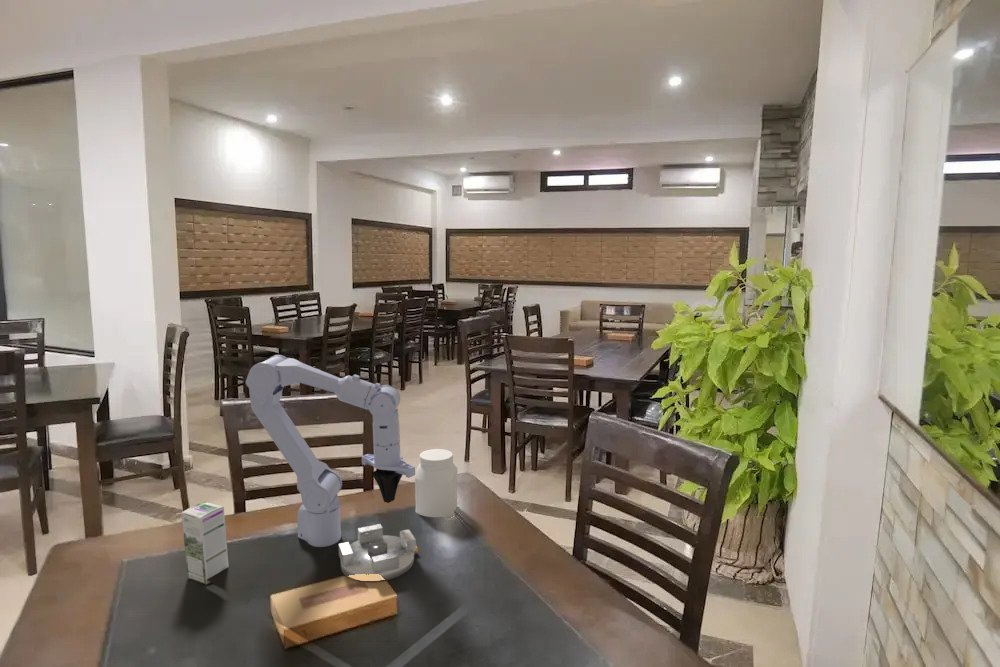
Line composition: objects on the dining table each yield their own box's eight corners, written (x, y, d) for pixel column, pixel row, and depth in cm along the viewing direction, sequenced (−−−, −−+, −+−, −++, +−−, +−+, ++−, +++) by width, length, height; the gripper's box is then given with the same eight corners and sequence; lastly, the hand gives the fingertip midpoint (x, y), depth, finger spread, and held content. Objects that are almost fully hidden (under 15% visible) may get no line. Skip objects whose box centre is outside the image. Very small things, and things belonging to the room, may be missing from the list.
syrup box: (230, 571, 122) (225, 505, 120) (205, 586, 117) (200, 517, 114) (210, 564, 124) (206, 499, 122) (185, 579, 119) (180, 511, 117)
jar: (451, 522, 144) (451, 463, 141) (412, 520, 144) (411, 462, 142) (459, 502, 155) (458, 447, 153) (423, 500, 156) (422, 446, 154)
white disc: (348, 589, 114) (348, 567, 113) (334, 552, 127) (334, 533, 126) (428, 570, 121) (427, 549, 120) (407, 537, 134) (406, 518, 133)
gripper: (423, 442, 129) (425, 501, 131) (376, 431, 137) (379, 487, 139) (401, 452, 123) (403, 514, 125) (353, 440, 131) (356, 498, 133)
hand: (389, 500), depth 132 cm, fingers closed
